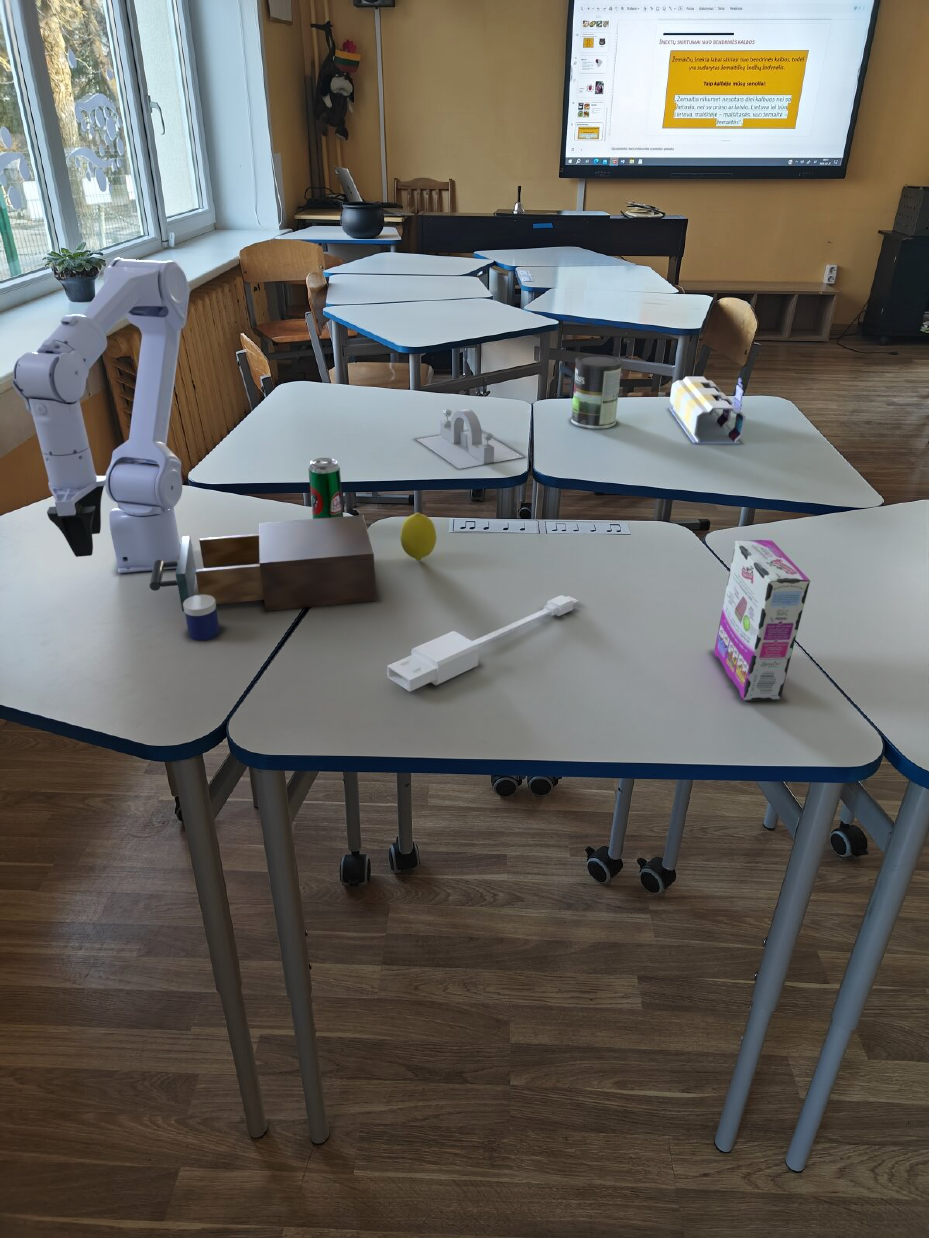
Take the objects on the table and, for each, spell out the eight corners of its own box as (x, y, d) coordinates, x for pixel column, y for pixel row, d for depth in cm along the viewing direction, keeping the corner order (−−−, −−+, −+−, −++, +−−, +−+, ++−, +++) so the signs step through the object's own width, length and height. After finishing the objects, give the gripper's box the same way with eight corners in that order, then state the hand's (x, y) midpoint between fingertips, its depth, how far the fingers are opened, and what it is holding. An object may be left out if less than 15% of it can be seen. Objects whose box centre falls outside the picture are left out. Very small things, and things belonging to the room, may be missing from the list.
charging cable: (585, 616, 122) (588, 595, 120) (411, 699, 102) (412, 675, 100) (559, 603, 125) (561, 582, 123) (385, 681, 105) (385, 658, 103)
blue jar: (189, 626, 116) (184, 595, 114) (220, 623, 117) (215, 593, 115) (187, 642, 113) (181, 610, 111) (219, 639, 114) (214, 607, 111)
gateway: (493, 461, 173) (494, 423, 169) (483, 463, 172) (484, 424, 168) (449, 434, 188) (449, 397, 184) (440, 435, 187) (440, 399, 183)
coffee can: (576, 429, 191) (581, 366, 184) (566, 416, 200) (571, 354, 193) (621, 428, 192) (628, 365, 185) (609, 414, 201) (615, 353, 194)
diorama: (740, 443, 184) (751, 383, 177) (693, 443, 184) (702, 382, 177) (711, 409, 205) (720, 354, 199) (668, 409, 205) (676, 353, 199)
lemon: (423, 571, 131) (422, 523, 127) (394, 562, 134) (392, 515, 130) (443, 557, 135) (442, 511, 131) (414, 549, 138) (413, 503, 134)
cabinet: (265, 611, 120) (259, 563, 116) (264, 568, 132) (258, 523, 128) (376, 600, 123) (373, 553, 119) (365, 559, 135) (363, 515, 131)
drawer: (151, 614, 117) (143, 577, 114) (159, 573, 128) (152, 538, 125) (288, 601, 121) (284, 565, 118) (285, 562, 131) (282, 528, 128)
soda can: (338, 537, 141) (333, 468, 135) (309, 534, 142) (303, 466, 136) (348, 525, 146) (343, 458, 140) (319, 522, 146) (314, 455, 140)
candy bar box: (783, 701, 103) (813, 580, 94) (743, 702, 102) (769, 581, 94) (749, 651, 112) (773, 537, 104) (712, 652, 112) (733, 538, 104)
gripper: (89, 465, 105) (111, 564, 112) (106, 429, 117) (125, 520, 124) (27, 469, 103) (54, 569, 110) (51, 432, 116) (73, 524, 122)
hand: (88, 543), depth 117 cm, fingers open, 6 cm apart
